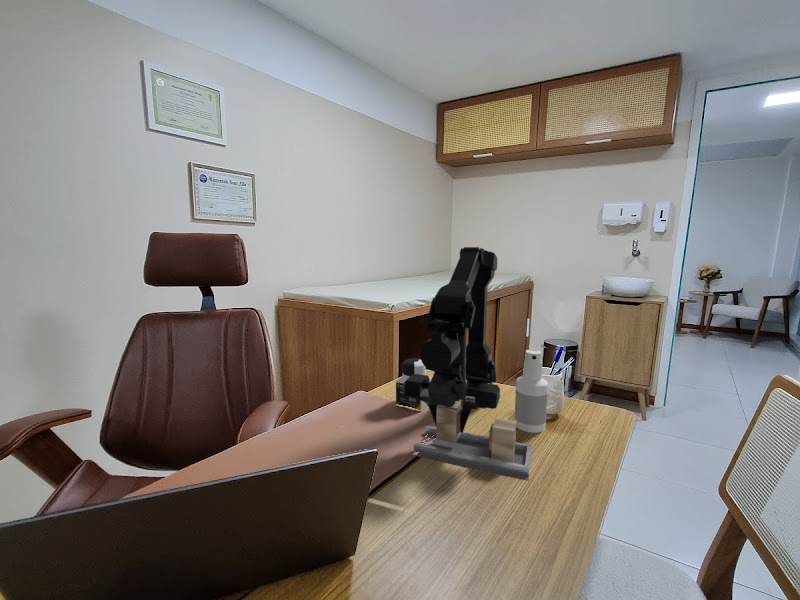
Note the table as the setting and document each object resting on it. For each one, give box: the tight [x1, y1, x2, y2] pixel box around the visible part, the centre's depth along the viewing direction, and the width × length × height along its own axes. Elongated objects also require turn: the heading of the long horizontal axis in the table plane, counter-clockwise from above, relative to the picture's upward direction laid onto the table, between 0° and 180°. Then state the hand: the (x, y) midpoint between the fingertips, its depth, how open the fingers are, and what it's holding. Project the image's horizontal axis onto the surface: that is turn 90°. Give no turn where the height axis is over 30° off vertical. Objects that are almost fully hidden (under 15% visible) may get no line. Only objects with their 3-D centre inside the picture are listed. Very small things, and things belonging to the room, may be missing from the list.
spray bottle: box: [513, 349, 549, 434], centre depth 86 cm, size 7×7×18 cm
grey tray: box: [413, 425, 533, 477], centre depth 76 cm, size 9×22×2 cm, turn 68°
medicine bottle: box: [395, 357, 432, 410], centre depth 99 cm, size 7×7×12 cm
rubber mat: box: [415, 433, 530, 481], centre depth 76 cm, size 11×22×1 cm, turn 68°
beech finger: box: [435, 401, 463, 443], centre depth 77 cm, size 5×4×7 cm
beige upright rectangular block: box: [488, 417, 517, 463], centre depth 74 cm, size 4×5×7 cm
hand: (450, 429), depth 78 cm, fingers closed on beech finger, 5 cm apart
